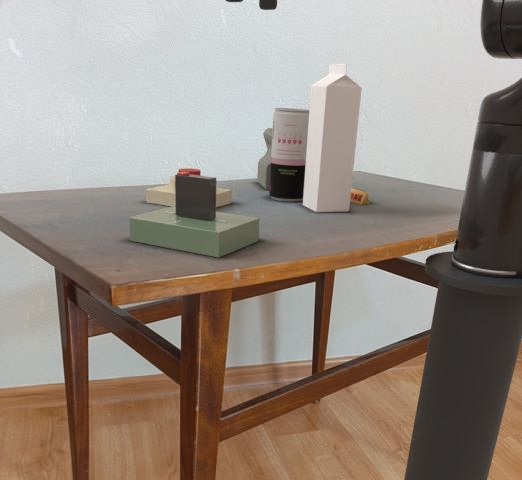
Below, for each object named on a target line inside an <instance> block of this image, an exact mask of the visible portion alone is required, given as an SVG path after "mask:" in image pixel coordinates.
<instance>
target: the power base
mask: <svg viewBox="0 0 522 480" xmlns="http://www.w3.org/2000/svg"><path fill="white" fill-rule="evenodd" d="M232 193H233V190H232V189H226V188H219V187H216V208H220V207H224V206H226V205H230V204H232V200H233V199H232V198H233V194H232ZM145 196H146V198H145V199H146V203H147V204H153V205H160V206H166V207H172V206H176V201H175V175H173V176H170V177H169V178H168V184H165V185H159V186H155V187H149V188H146V190H145Z"/></svg>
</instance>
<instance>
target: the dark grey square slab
mask: <svg viewBox="0 0 522 480" xmlns="http://www.w3.org/2000/svg"><path fill="white" fill-rule="evenodd" d="M174 176H175V201H176V216H182V217H189V218H195V219H201V220H207V221H210V220H213V219H216V212H217V207H216V188H217V177H215V176H208V175H207V176H206V175H201V176H199V175H191V174H190V173H189V172H178V171H177V172H176V174H175V175H174Z"/></svg>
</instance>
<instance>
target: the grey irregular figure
mask: <svg viewBox="0 0 522 480" xmlns="http://www.w3.org/2000/svg"><path fill="white" fill-rule="evenodd" d="M272 130H273V127H267V128H266V129H265V130H264V131H263V134H262V135H263V139H264V143H265V146H266V149H267V150H266V152H265V153H264V155H263V156H262V157H261V158H259V159H258V162H257V177H256V178H257V179H256V181H257V183H258V184H259V185H261V186H262V187H263V188H264V189H265V190H268V191H270V171H271V151H272Z"/></svg>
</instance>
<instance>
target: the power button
mask: <svg viewBox="0 0 522 480" xmlns="http://www.w3.org/2000/svg"><path fill="white" fill-rule="evenodd" d="M178 172H189V173H190V174H191V175H199V176H202V175H201V174H202V173H201V172H202V171H201V169H199V168H188V167H187V168H179V169H178V171H177V173H178Z"/></svg>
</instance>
